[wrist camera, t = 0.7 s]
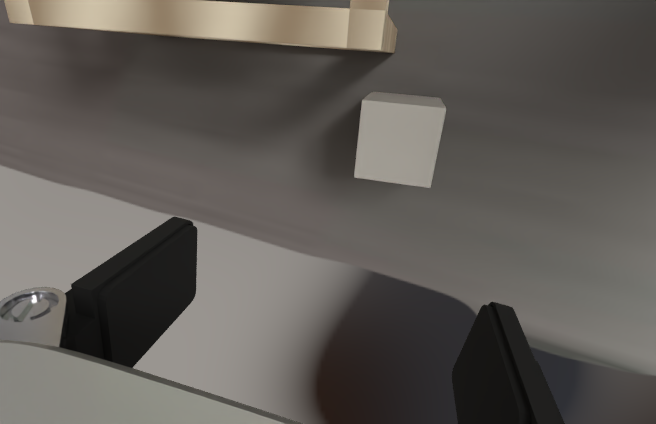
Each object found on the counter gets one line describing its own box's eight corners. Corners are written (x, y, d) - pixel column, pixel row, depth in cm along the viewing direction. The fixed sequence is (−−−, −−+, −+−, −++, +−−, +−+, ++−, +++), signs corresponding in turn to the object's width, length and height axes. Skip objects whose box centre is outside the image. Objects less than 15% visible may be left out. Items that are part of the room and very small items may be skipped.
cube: (439, 97, 26) (446, 108, 21) (427, 162, 28) (430, 187, 23) (372, 91, 27) (362, 99, 22) (365, 155, 29) (353, 177, 24)
